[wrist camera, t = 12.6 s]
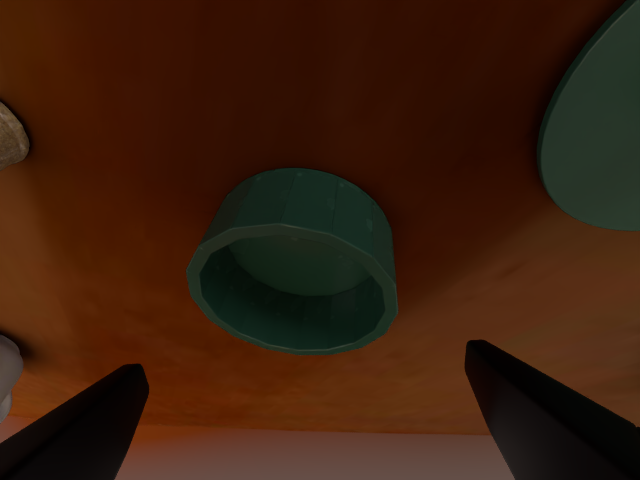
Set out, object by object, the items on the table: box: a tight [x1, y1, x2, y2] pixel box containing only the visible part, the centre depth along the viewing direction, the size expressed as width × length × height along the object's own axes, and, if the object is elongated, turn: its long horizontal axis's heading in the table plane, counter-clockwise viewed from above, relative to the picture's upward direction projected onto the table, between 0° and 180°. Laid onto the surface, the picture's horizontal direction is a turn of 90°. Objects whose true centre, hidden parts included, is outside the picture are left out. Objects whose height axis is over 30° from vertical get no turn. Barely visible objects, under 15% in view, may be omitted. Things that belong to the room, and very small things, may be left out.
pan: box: [186, 168, 398, 355], centre depth 19 cm, size 11×11×5 cm
